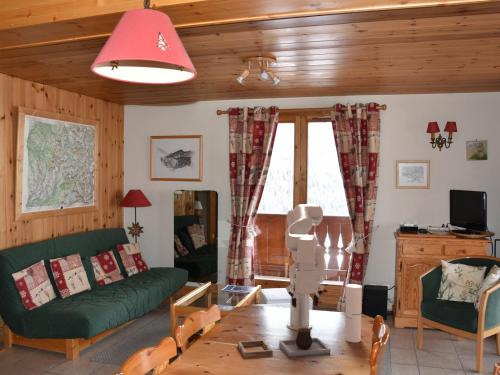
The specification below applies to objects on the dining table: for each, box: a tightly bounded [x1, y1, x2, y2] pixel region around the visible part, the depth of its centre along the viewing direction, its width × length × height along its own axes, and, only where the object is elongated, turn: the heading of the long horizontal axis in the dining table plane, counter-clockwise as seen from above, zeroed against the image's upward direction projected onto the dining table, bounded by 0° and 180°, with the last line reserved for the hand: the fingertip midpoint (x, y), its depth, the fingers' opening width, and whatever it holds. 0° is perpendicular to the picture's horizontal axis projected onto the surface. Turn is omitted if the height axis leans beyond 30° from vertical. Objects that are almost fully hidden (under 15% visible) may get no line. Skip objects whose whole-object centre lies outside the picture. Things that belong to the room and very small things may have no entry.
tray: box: [278, 337, 331, 359], centre depth 194 cm, size 14×18×2 cm
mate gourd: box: [295, 328, 313, 350], centre depth 194 cm, size 7×8×10 cm
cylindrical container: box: [344, 283, 363, 343], centre depth 208 cm, size 7×7×25 cm
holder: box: [237, 339, 273, 359], centre depth 193 cm, size 13×12×2 cm
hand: (304, 306), depth 194 cm, fingers open, 9 cm apart
